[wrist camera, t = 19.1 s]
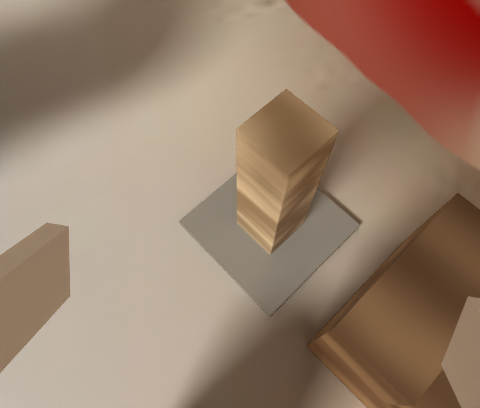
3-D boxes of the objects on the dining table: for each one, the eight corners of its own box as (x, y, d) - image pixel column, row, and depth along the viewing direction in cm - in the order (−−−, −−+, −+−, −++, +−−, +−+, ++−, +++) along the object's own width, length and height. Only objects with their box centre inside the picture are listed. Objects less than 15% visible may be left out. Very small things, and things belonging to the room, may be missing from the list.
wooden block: (270, 255, 34) (289, 174, 22) (236, 222, 36) (236, 128, 23) (302, 224, 35) (339, 130, 23) (269, 193, 37) (286, 88, 24)
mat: (269, 316, 33) (270, 315, 32) (180, 223, 36) (179, 221, 36) (358, 227, 36) (360, 225, 35) (268, 149, 39) (269, 145, 39)
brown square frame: (486, 530, 27) (610, 600, 18) (306, 345, 32) (334, 327, 23) (579, 386, 31) (721, 384, 22) (405, 239, 36) (463, 187, 26)
